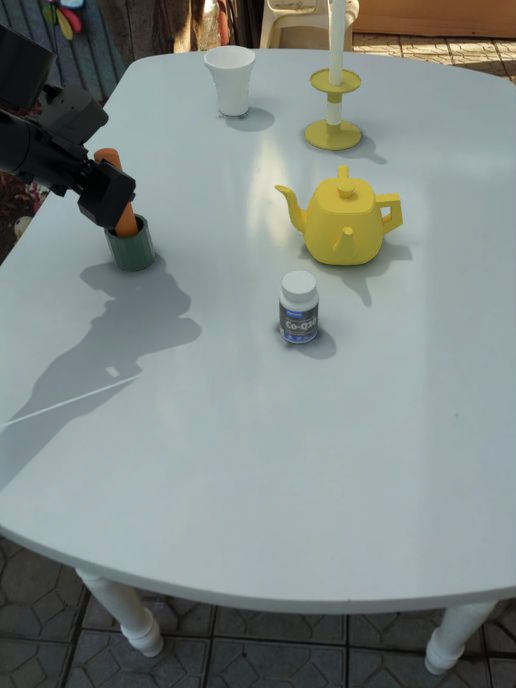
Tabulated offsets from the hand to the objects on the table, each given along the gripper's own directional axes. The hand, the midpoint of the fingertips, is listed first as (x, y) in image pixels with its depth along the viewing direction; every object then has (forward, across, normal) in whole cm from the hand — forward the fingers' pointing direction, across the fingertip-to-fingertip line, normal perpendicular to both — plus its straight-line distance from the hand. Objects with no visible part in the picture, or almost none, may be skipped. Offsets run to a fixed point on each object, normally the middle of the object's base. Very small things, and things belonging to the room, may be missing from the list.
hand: (126, 192), depth 74 cm
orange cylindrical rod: (+4, 0, +6) cm, 7 cm away
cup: (+32, +21, -18) cm, 43 cm away
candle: (+37, +3, -23) cm, 44 cm away
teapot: (+22, -18, -7) cm, 29 cm away
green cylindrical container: (+6, 0, +8) cm, 10 cm away
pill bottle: (+11, -26, +4) cm, 28 cm away
